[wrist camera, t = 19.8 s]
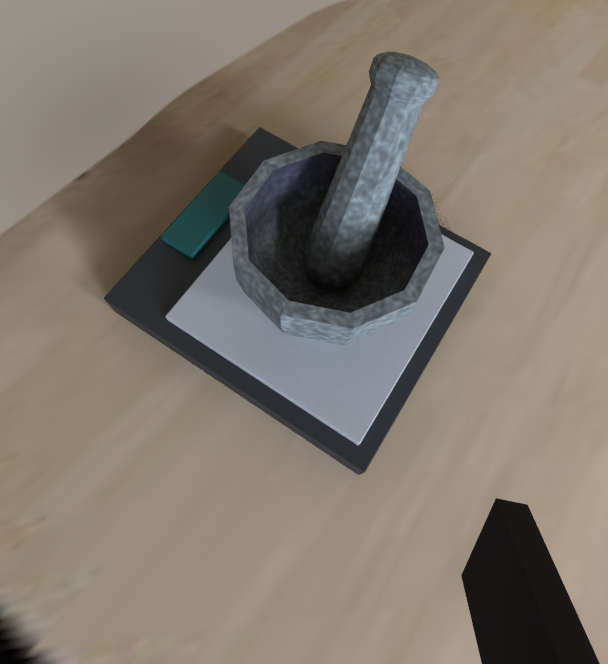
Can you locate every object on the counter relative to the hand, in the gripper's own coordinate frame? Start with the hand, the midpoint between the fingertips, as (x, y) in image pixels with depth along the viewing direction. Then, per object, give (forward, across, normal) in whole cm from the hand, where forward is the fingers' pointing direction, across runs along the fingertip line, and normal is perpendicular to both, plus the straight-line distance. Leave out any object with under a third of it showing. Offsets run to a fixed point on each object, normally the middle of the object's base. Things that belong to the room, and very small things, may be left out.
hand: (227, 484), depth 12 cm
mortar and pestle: (+17, +2, 0) cm, 17 cm away
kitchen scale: (+20, 0, -1) cm, 20 cm away
